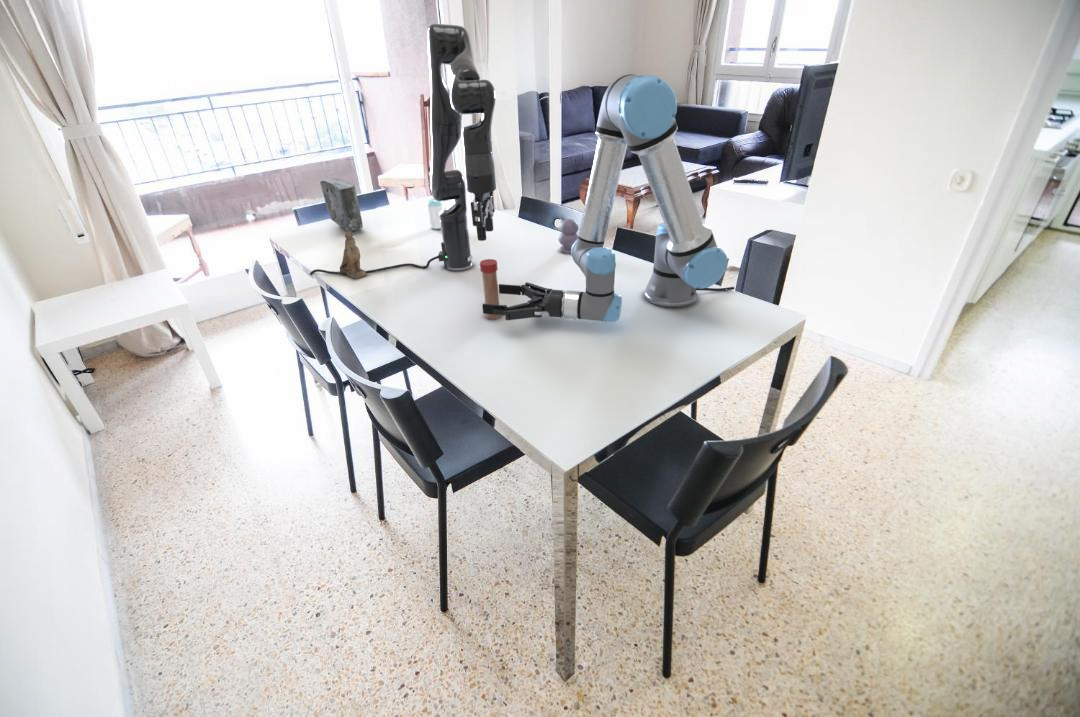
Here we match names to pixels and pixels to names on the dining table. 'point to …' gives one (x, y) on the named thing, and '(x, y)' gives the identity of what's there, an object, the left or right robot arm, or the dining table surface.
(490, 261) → the lid
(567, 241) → the mauve bulbous figurine
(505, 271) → the dining table surface
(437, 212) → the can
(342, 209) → the concrete block
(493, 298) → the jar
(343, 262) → the brown carved statuette
